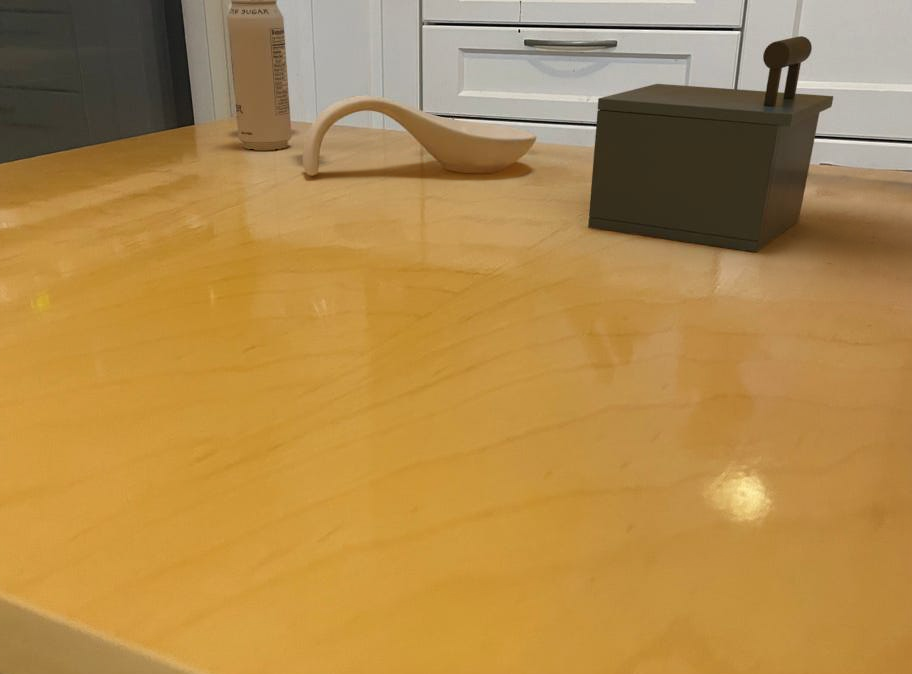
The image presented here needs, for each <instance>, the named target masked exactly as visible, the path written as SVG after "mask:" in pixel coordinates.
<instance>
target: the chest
mask: <svg viewBox="0 0 912 674" xmlns="http://www.w3.org/2000/svg"><path fill="white" fill-rule="evenodd" d="M820 113H821V112H819V113H817V114H815V115H813V116H811V117H809V118H806V119H804V120H802V121H800V122H798V123H795V124H793V125H791V126H781V125H770V124H758V123H747V122H735V121H724V120H712V119H701V118H689V117H678V116H666V115H655V114H644V113H632V112H621V111H609V110H598V109H597V113H596V125H595V135H594V136H595V137H594V148H593V149H594V150H593V162H592V174H591V186H590V198H589V210H588V222H587V223H588V224H587V227H588V228H592V229H598V230H602V231H603V230H604V231H612V232H616V233H617V232H618V233H625V234H630V235H631V234H632V235H636V236H637V235H638V236H644V237H650V238H658V239H664V240H671V241H678V242H684V243H691V244H698V245H704V246H712V247H718V248H724V249H731V250H738V251H745V252H750V253H751V252H752V253H757V252H758V251H760V250H762V249H763V248H764V247H766V246H767V245H768V244H769V243H771V242H772V241H773V240H774V239H777V238H778V237H779V236H780V235H781V234H783V233H784V232H786V231H787V230H788V229H790V228H791V227H793V226H794V225H795V224H796V223H798V222H799V221H800V216H801V211H802V207H803V203H804V195H805V191H806V184H807V180H808V175H809V171H810V170H809V169H810V166H811V165H810V164H811V160H812V154H813V148H814V145H815V138H816V133H817V128H818V123H819V118H820Z"/></svg>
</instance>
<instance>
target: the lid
mask: <svg viewBox="0 0 912 674" xmlns="http://www.w3.org/2000/svg"><path fill="white" fill-rule="evenodd" d="M812 49H813V47H812V42H811V41H810V39H809V38H807V37H806V36H801V35H800V36H795V37H789V38H786V39H780V40H777V41H773V42H771V43H770V44H768V45H767V46H766V47H765V49H764V51H763V54H762V60H763V63H764V65H765V66H766V67H767V68H768V69H769V71H768V76H767V83H766V88H765V90H753V89H751V90H749V89H737V88H723V87H722V88H721V87H710V86H708V87H707V86H695V85H681V84H666V83H655V84H649V85H645V86H643V87H638V88H635V89H631V90H625V91H623V92H619V93H614V94H610V95H606V96H602V97H598V100H597V111H598V110H609V111H621V112H632V113H644V114H655V115H666V116H678V117H689V118H701V119H712V120H724V121H735V122H747V123H758V124H770V125H781V126H791V125H793V124H795V123H798V122H800V121H802V120H804V119H806V118H809V117H811V116H813V115H815V114H817V113H819V112H820V113H821V112H824V111H826V110H828V109H830V108H832V106H833V102H834V96H833V95H823V94H822V95H821V94H807V93H797V87H798V81H799V77H800V71H801V65H802V63H803V62H805V61H807V60H808V58H809V57H810V56H811V53H812ZM787 67H788V68H787ZM784 68H787V74H786V79H785V80H786V81H785V85H784V91H783V92H782V91H781V92H780V91H779V88H780V82H781V77H782V70H783V69H784ZM820 113H819V114H820Z"/></svg>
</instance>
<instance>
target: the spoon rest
mask: <svg viewBox="0 0 912 674" xmlns="http://www.w3.org/2000/svg"><path fill="white" fill-rule="evenodd" d="M369 111H370V112H376V113H380V114H381V115H385V116H387V117H389V118H390V119H392V120H394V121H395V122H396V123H398V124H399V125H400V126H401V127H402V128H403V129H404V130H406V131H407V132H408V133H409V134H410V135H411V136H412V137H413V138H414V139H415V140H416V141H417V142H418V144H420V146H422V148H423V149H425V150H426V152H427V153H428V154H429V155H430V156H431V157H433V159H435V160H436V161H437V162H438V163H439V164H440V165H441V166H442V168H443V169H445V170H447V171H451V172H456V173H464V174H465V173H466V174H490V173H497V172H500V171H501V170H503V169H504V168H507V167H510V166H511V165H513V164H515V163H517V162H518V161H519V160H520V159H521V158H523V157H524V156H525V155H526V154H527V153H528V152H529V151H530V150H531V148H532V147H533V146H534V144H535V143H536V141H537V135H536V134H535V133H533V132H531V131H528V130H525V129H521V128H516V127H511V126H505V125H500V124H493V123H485V122H476V121H467V120H460V119H454V118H449V117H443V116H438V115H435V114H432V113H429V112H426V111H423V110H420V109H418V108H416V107H413V106H410V105H409V104H405V103H402V102H400V101H397V100H394V99H391V98H388V97H383V96H377V95H366V94H365V95H364V94H363V95H355V96H350V97H346V98H343V99H341V100H339V101H337V102H334V103H332V104H330V105H329V106H328V107H326V108H325V109H324V110H323V111H321V112H320V114H319V115H317V117H316V118H315V119H314V121H313V123H312V124H311V126H310V127H309V129H308V132H307V134H306V136H305V141H304V144H303V150H302V165H303V166H302V167H303V170H304V171H305V173H306V174H307V175H308V176H316V175H318V173H319V169H320V152H321V151H320V150H321V147H322V143H323V140H324V138H325V136H326V133H327V132H328V131H329V129H330V128H331V127H332V126H333V125H334V124H335V123H337V122H338V121H339V120H341V119H343V118H345V117H347V116H349V115H353V114H356V113H358V112H369Z"/></svg>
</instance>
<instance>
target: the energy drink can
mask: <svg viewBox="0 0 912 674" xmlns="http://www.w3.org/2000/svg"><path fill="white" fill-rule="evenodd" d="M230 1H231V2H230V3H231V7H230V9H229V12H228V14H227V17H226V20H227V30H228V41H229V52H230V63H231V71H232V82H233V83H232V84H233V94H234V103H235V104H234V106H235V114H236V124H237V136H238V140H239V141H240V142H241V143H242V144H243V148H244V147H245V148H244V149H246V148H247V149H246V150H249V149H254V150H253V151H276V150H275V149H278V150H283V149H286V148H288V143H289V141H290V140H291V139H292V122H291V107H290V93H289V78H288V63H287V51H286V50H287V49H286V36H285V21H284V20H285V19H284V15H283V14H282V12H281V10H280V9H279V6H278V4H277V0H230ZM285 147H286V148H285ZM282 148H283V149H282Z"/></svg>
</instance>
